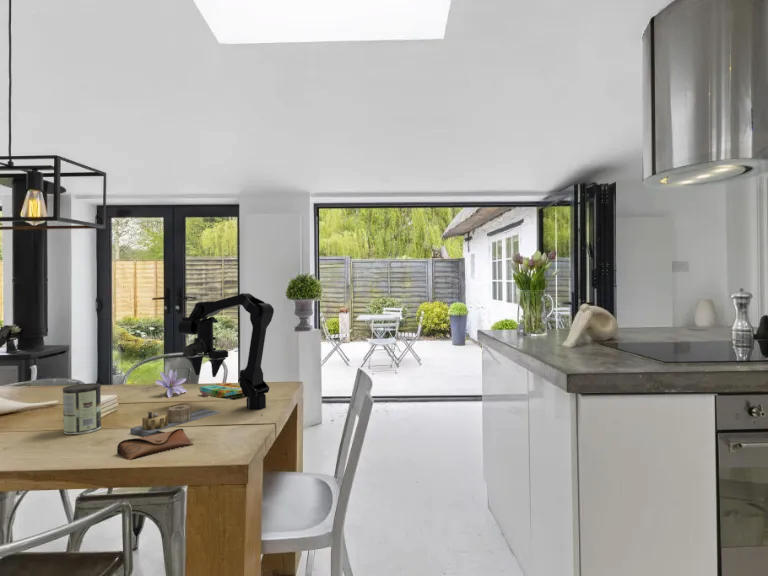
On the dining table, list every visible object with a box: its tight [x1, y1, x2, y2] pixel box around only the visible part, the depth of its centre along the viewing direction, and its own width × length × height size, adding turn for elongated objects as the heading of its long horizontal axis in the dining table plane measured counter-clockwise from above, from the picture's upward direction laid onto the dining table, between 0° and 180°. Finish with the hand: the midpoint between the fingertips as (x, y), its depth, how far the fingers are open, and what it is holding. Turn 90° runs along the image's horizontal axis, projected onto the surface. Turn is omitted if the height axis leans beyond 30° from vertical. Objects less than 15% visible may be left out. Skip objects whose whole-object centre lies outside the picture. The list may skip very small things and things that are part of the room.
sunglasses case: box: [116, 428, 194, 461], centre depth 129 cm, size 18×7×7 cm
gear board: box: [130, 408, 222, 437], centre depth 153 cm, size 10×27×6 cm, turn 151°
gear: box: [166, 404, 192, 423], centre depth 153 cm, size 7×7×4 cm
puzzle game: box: [198, 382, 244, 400], centre depth 196 cm, size 12×5×20 cm
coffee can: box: [62, 382, 102, 435], centre depth 148 cm, size 10×10×14 cm
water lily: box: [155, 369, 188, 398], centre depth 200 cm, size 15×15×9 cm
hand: (205, 376), depth 175 cm, fingers open, 9 cm apart
